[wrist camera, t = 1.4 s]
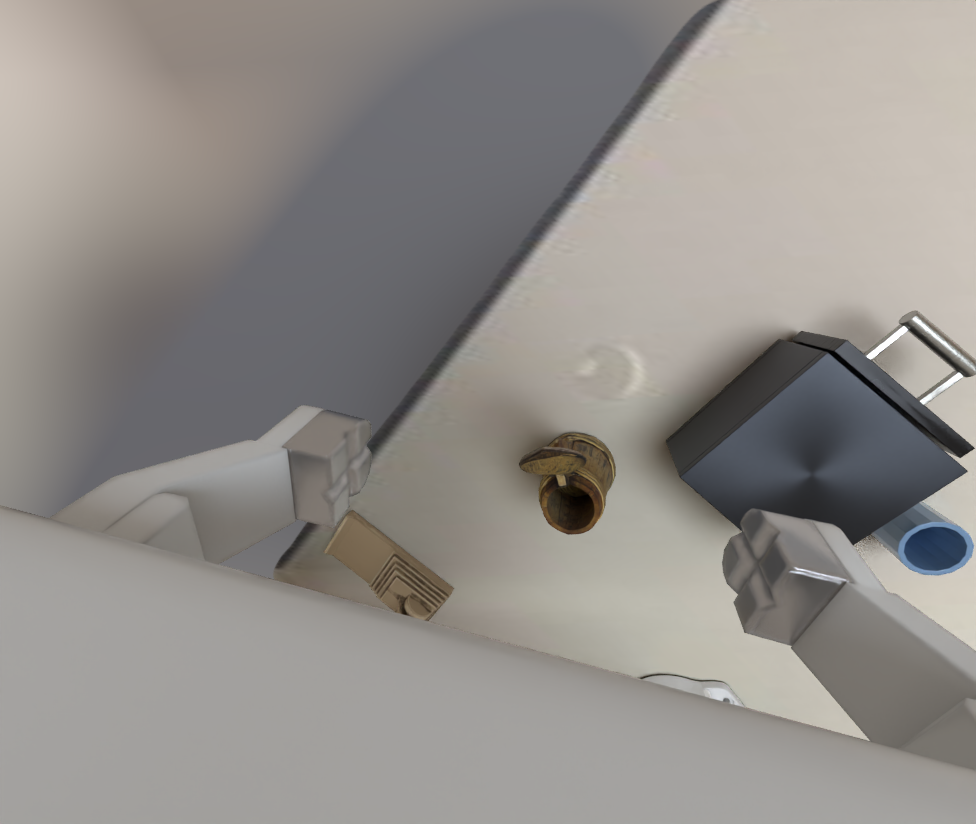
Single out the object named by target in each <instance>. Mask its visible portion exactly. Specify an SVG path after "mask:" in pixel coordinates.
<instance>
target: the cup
mask: <svg viewBox="0 0 976 824" xmlns="http://www.w3.org/2000/svg"><path fill="white" fill-rule="evenodd" d="M871 535H872V536H874V537H875V538H876V539H877V540H878V541H879V542H880V543H881V544H882V545H883V546H884V547H886V548H887V549H888V550H889V551H890V552H891V553H892V554H893V555H894V556H895V557H896V558H897V559H899V560H900V561H901V562H902V563H903V564H904V565H905V566H906V567H908V568H909V569H910V570H912V571H915V572H918V573H920V574H924V575H942V574H947V573H952V572H954V571H955V570H957V569H959V568H961V567H963V566H964V565H965V564H966V563H967V561H968V560H969V559H970V558H971V556H972V553H973V548H974V544H973V542H972V539H971V537H970V535H969V534H968V533H967V532H966V531H965V530H963V529H962V528H961V527H960V526H958V525H957V524H955V523H954V522H952V521H951V520H949V519H948V518H946V517H945V516H943V515H942V514H940V513H939V512H937V511H936V510H934V509H933V508H931V507H930V506H928V505H927V504H925V503H924V502H922V501H921V502H920V503H918V504H916V505H915V506H913V507H912V508H910V509H909V510H907V511H906V512H904V513H902V514H901V515H899V516H898V517H896V518H895V519H893V520H892V521H890V522H888V523H887V524H885V525H884V526H882V527H881V528H879V529H877V530H876V531H874V532H873V533H871Z"/></svg>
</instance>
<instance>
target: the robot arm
mask: <svg viewBox="0 0 976 824" xmlns="http://www.w3.org/2000/svg"><path fill="white" fill-rule="evenodd" d="M370 438H371V424H370V422H369V421H368V420H365V419H362V418H358V417H354V416H350V415H346V414H342V413H337V412H333V411H329V410H324V409H322V408H317V407H313V406H308V405H302V406H299V407H298V408H297V409H296V410H294V411H293V412H292V413H291V414H289V415H288V416H287V417H286V418H284V419H283V420H282V421H281V422H279V423H278V424H277V425H276V426H274V427H273V428H272V429H271V430H270V431H268V432H267V433H266V434H265V435H263V436H262V437H261V438H259V439H258V440H257V441H253V440H246V441H242V442H239V443H235V444H231V445H228V446H224V447H221V448H217V449H213V450H209V451H206V452H202V453H198V454H195V455H191V456H187V457H184V458H181V459H176V460H173V461H169V462H165V463H162V464H158V465H154V466H151V467H147V468H143V469H140V470H136V471H133V472H129V473H125V474H122V475H118V476H115V477H112V478H111V479H109V480H108V481H106V482H105V483H103V484H102V485H100V486H98V487H97V488H95V489H94V490H92V491H91V492H89V493H87V494H86V495H84V496H83V497H81V498H80V499H78V500H76V501H75V502H73V503H72V504H70V505H69V506H67V507H66V508H64V509H62V510H61V511H59V512H58V513H56V514H55V515H53V516H51V517H50V518H45V517H42V516H38V515H34V514H31V513H27V512H23V511H20V510H16V509H12V508H9V507H5V506H1V505H0V824H976V651H975V650H974V649H972V648H971V647H969V646H968V645H967V644H965V643H964V642H963V641H961V640H960V639H958V638H957V637H956V636H954V635H953V634H951V633H950V632H949V631H947V630H946V629H944V628H943V627H942V626H940V625H939V624H937V623H936V622H935V621H933V620H932V619H930V618H929V617H928V616H926V615H925V614H923V613H922V612H921V611H919V610H918V609H917V608H915V607H914V606H912V605H911V604H910V603H908V602H907V601H905V600H904V599H903V598H901V597H900V596H898V595H897V594H894V593H890V592H887V591H886V589H885V588H884V587H883V585H882V584H881V583H880V581H879V580H878V579H877V577H876V576H875V575H874V573H873V572H872V571H871V569H870V568H869V566H868V565H867V564H866V562H865V561H864V560H863V558H862V557H861V556H860V554H859V553H858V552H857V550H856V549H855V548H854V546H853V545H852V544H851V542H850V541H849V540H848V538H847V537H846V535H845V534H844V533H843V531H842V530H841V529H840V528H838V527H836V526H835V525H833V524H829V523H824V522H819V521H814V520H809V519H801V518H796V517H792V516H787V515H782V514H778V513H773V512H768V511H764V510H759V509H754V508H752V509H750V510H749V511H748V512H747V513H746V514H745V515H744V517H743V518H742V520H741V522H740V524H741V527H742V530H743V532H742V533H740V534H738V535H736V536H733V537H731V538H730V540H729V542H728V544H727V546H726V548H725V549H724V555H723V561H722V565H723V573H724V576H725V579H726V582H727V584H728V585H729V586H730V587H731V588H732V589H733V590H734V591H735V592H736V593H737V594H738V596H737V597H736V599H735V601H734V605H735V607H736V610H737V613H738V616H739V618H740V621H741V624H742V627H743V629H744V632H745V633H748V634H751V635H755V636H758V637H762V638H765V639H769V640H773V641H776V642H780V643H783V644H787V645H790V646H792V647H791V649H792V650H793V651H794V652H795V653H796V654H797V656H798V657H799V658H800V659H801V660H802V661H803V663H804V664H805V665H806V666H807V667H808V668H809V670H810V671H811V672H812V673H813V674H814V676H815V677H816V678H817V679H818V680H819V681H820V683H821V684H822V685H823V686H824V687H825V688H826V690H827V691H828V692H829V693H830V694H831V695H832V697H833V698H834V699H835V700H836V701H837V702H838V704H839V705H840V706H841V707H842V708H843V709H844V711H845V712H846V713H847V714H848V715H849V717H850V718H851V719H852V720H853V721H854V722H855V724H856V725H857V726H858V727H859V728H860V729H861V731H862V732H863V733H864V734H865V735H866V736H867V738H868V739H869V740H870V741H867V740H863V739H860V738H856V737H852V736H849V735H845V734H841V733H838V732H834V731H830V730H827V729H823V728H819V727H816V726H812V725H808V724H804V723H801V722H797V721H793V720H790V719H786V718H782V717H779V716H775V715H771V714H768V713H764V712H760V711H757V710H753V709H749V708H746V707H745V706H744V705H743V704H742V702H741V701H740V700H739V699H738V697H737V696H736V695H735V694H734V692H733V691H732V690H731V689H730V687H729V686H728V685H727V684H725V683H723V682H717V681H705V682H699V681H694V680H690V679H686V678H683V677H678V676H671V675H658V676H651V677H647V678H643V679H639V678H635V677H631V676H628V675H624V674H620V673H617V672H613V671H609V670H606V669H602V668H598V667H595V666H591V665H587V664H584V663H580V662H576V661H572V660H569V659H565V658H561V657H558V656H554V655H550V654H547V653H543V652H539V651H536V650H532V649H528V648H525V647H521V646H517V645H514V644H510V643H506V642H503V641H499V640H495V639H491V638H488V637H484V636H480V635H477V634H473V633H469V632H466V631H462V630H458V629H455V628H451V627H447V626H444V625H440V624H436V623H432V622H429V621H425V620H421V619H418V618H414V617H410V616H407V615H403V614H399V613H396V612H392V611H388V610H384V609H381V608H377V607H373V606H370V605H366V604H362V603H359V602H355V601H351V600H348V599H344V598H340V597H336V596H333V595H329V594H325V593H322V592H318V591H314V590H311V589H307V588H303V587H300V586H296V585H292V584H289V583H285V582H281V581H277V580H274V579H270V578H266V577H263V576H259V575H255V574H251V573H248V572H244V571H241V570H237V569H233V568H230V567H226V566H222V565H219V564H220V563H222V562H223V561H225V560H227V559H229V558H230V557H232V556H234V555H236V554H238V553H240V552H241V551H243V550H245V549H247V548H249V547H250V546H252V545H254V544H256V543H258V542H259V541H261V540H263V539H264V538H266V537H268V536H270V535H272V534H274V533H276V532H277V531H279V530H281V529H283V528H285V527H286V526H288V525H290V524H292V523H293V522H295V521H296V519H297V520H302V521H306V522H310V523H315V524H319V525H324V526H328V527H333V528H335V526H336V525H337V523H338V522H339V521H340V519H341V518H342V516H343V515H344V514H345V512H346V511H347V509H348V508H349V507H350V505H349V497H351V496H353V495H356V494H358V493H359V492H360V491H361V489H362V488H363V486H364V485H365V483H366V480H367V478H368V475H369V473H370V467H371V452H370V451H369V449H368V448H367V446H366V443H367V442H368V441H369V439H370ZM724 698H727V699H724Z"/></svg>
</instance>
